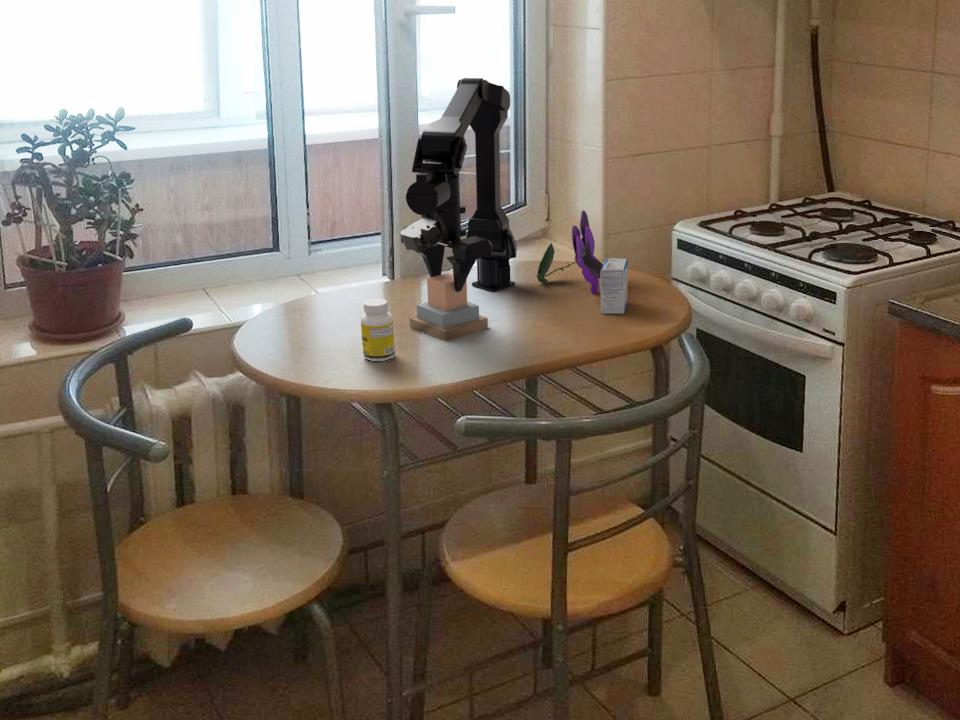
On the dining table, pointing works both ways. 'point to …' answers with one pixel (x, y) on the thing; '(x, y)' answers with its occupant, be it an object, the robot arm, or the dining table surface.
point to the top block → (447, 314)
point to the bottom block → (449, 328)
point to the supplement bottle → (377, 331)
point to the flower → (577, 255)
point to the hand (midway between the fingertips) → (447, 287)
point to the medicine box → (614, 286)
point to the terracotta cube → (445, 292)
